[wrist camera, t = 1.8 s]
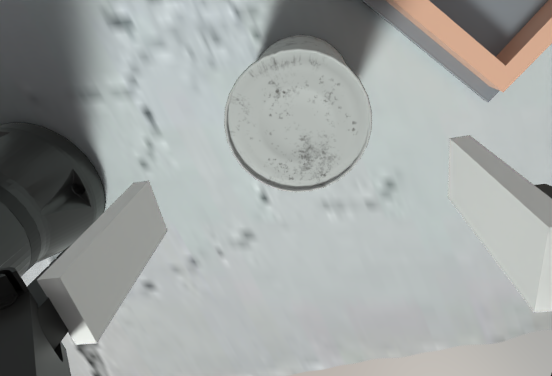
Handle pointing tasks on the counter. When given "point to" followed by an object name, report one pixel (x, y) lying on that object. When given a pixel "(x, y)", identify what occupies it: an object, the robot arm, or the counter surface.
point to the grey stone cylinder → (298, 116)
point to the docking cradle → (475, 36)
